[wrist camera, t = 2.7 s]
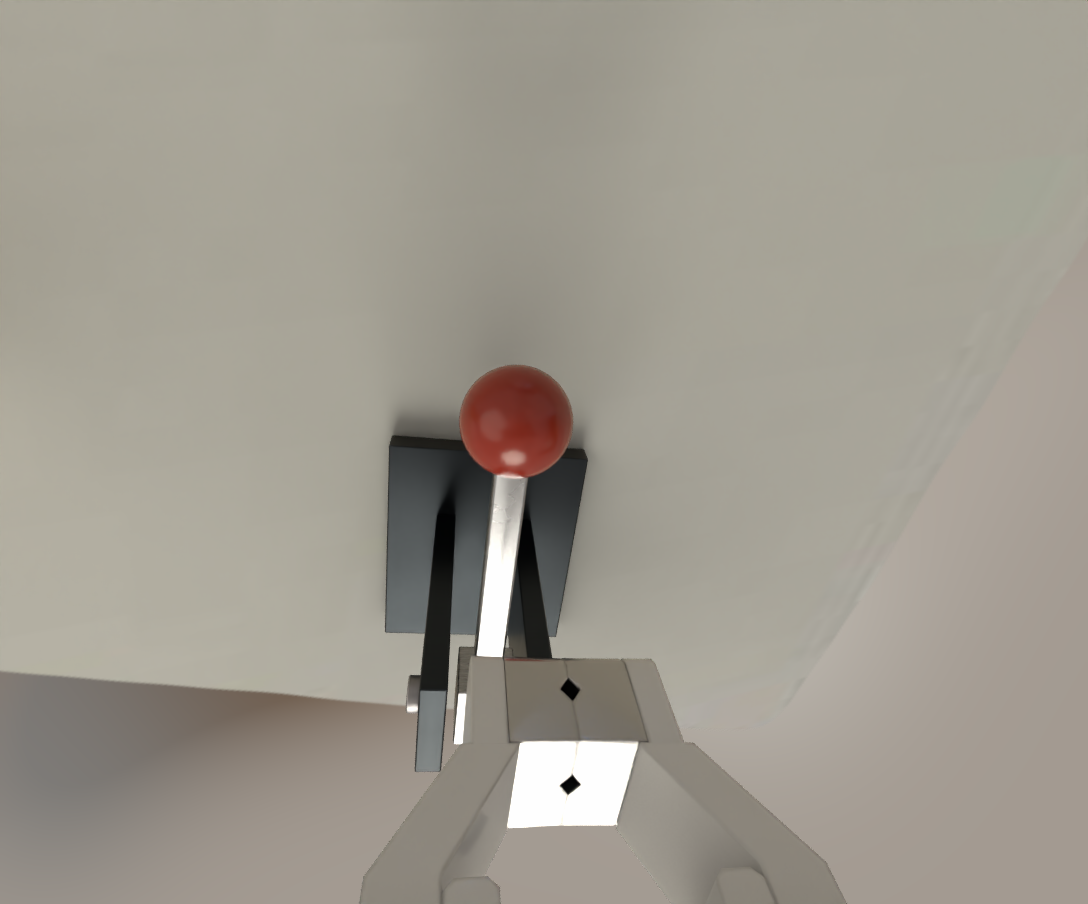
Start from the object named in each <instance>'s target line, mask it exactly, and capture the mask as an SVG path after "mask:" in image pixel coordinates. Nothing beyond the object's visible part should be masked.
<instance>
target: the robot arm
mask: <svg viewBox="0 0 1088 904" xmlns="http://www.w3.org/2000/svg"><path fill="white" fill-rule="evenodd" d="M555 825H608V826H610V825H611V826H612V825H614V826H615V825H616V826H617V827H616V829H617V831H618V832H619V833H620V835H621V836H622V837H623V839H624V840H625V842H626V843H627V844H628V845H629V847H630V848H631V850H632V851H633V852H634V854H635V855H636V857H637V858H638V859H639V860H640V862H641V863H642V865H643V866H644V867H645V869H646V870H647V872H648V873H649V874H650V876H651V877H652V878H653V879H654V881H655V882H656V884H657V885H658V887H659V888H660V889H661V890H662V892H663V893H664V895H665V896H666V897H667V899H668V900H669V902H670V903H671V904H847V903H846V901H845V899H844V897H843V895H842V893H841V891H840V889H839V887H838V885H837V883H836V881H835V879H834V877H833V875H832V873H831V871H830V869H829V867H828V865H827V863H826V861H824V860H823V859H822V858H821V857H820V856H819V855H818V854H817V853H815V852H814V851H813V850H812V849H811V848H810V847H809V846H808V845H807V844H806V843H804V842H803V841H802V840H801V839H800V838H799V837H798V836H797V835H795V834H794V833H793V832H792V831H791V830H790V829H789V828H788V827H787V826H786V825H784V824H783V823H782V822H781V821H780V820H779V819H778V818H777V817H775V816H774V815H773V814H772V813H771V812H770V811H769V810H768V809H766V808H765V807H764V806H763V805H762V804H761V803H760V802H759V801H758V800H757V799H755V798H754V797H753V796H752V795H751V794H750V793H749V792H748V791H747V790H745V789H744V788H743V787H742V786H741V785H740V784H739V783H738V782H737V781H735V780H734V779H733V778H732V777H731V776H730V775H729V774H728V773H727V772H725V771H724V770H723V769H722V768H721V767H720V766H719V765H718V764H716V763H715V762H714V761H713V760H712V759H711V758H710V757H709V756H708V755H707V754H705V753H704V752H703V751H702V750H701V749H700V748H699V747H698V746H696V745H695V744H694V743H687V742H684V740H683V738H682V735H681V732H680V730H679V727H678V724H677V721H676V719H675V716H674V713H673V711H672V708H671V705H670V702H669V700H668V697H667V694H666V691H665V689H664V686H663V683H662V681H661V678H660V675H659V672H658V670H657V667H656V664H655V663H654V662H653V661H652V660H651V659H621V660H620V659H586V658H562V659H557V658H534V657H510V656H503V658H502V657H493V656H473V655H471V658H470V663H469V673H468V683H467V692H466V702H465V714H464V728H463V743H461V744H460V745H459V747H458V748H457V750H456V751H455V752H454V754H453V755H452V756H451V758H450V759H449V761H448V762H447V763H446V765H445V766H444V767H443V769H442V770H441V771H440V773H439V774H438V776H437V777H436V778H435V780H434V781H433V783H432V784H431V785H430V786H429V788H428V789H427V791H426V792H425V793H424V795H423V796H422V797H421V799H420V800H419V802H418V803H417V804H416V806H415V807H414V809H413V810H412V811H411V813H410V814H409V815H408V817H407V818H406V819H405V821H404V822H403V823H402V825H401V826H400V828H399V829H398V830H397V832H396V833H395V835H394V836H393V837H392V839H391V840H390V841H389V843H388V844H387V845H386V847H385V848H384V850H383V851H382V853H381V854H380V855H379V856H378V858H377V859H376V860H375V862H374V863H373V865H372V866H371V867H370V869H369V870H368V871H367V873H366V874H365V876H364V877H363V882H362V889H361V896H360V902H359V904H501V903H500V887H499V886H498V885H497V884H496V883H495V882H493V881H492V880H491V879H490V878H489V877H488V876H485V874H486V872H487V870H488V868H489V866H490V864H491V862H492V860H493V858H494V856H495V854H496V852H497V850H498V848H499V846H500V844H501V842H502V840H503V838H504V836H505V834H506V832H507V828H518V827H537V826H555Z"/></svg>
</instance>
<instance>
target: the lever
mask: <svg viewBox="0 0 1088 904" xmlns="http://www.w3.org/2000/svg"><path fill="white" fill-rule="evenodd" d="M459 427H460V434H461V438H462V441H463V443H464V445H465V447H466V450H467V451H468V453H469V454H470V456H471V457H472V458H473V459H474V461H475V462H477V463H478V464H479V465H480V466H481V467H482V468H484V469H485V470H487V471H489V472H490V473H492V483H491V493H490V502H489V512H488V521H487V531H486V540H485V550H484V559H483V569H482V578H481V587H480V597H479V606H478V616H477V625H476V635H475V644H474V647H459V654H458V665H457V676H456V687H455V701H454V731H453V732H454V733H453V743H454V744H461V743H463V728H464V714H465V702H466V692H467V683H468V673H469V663H470V658H471V655H473V656H493V657H502V658H503V656H510V657H513V648H505V645H506V638H507V631H508V623H509V616H510V608H511V601H512V593H513V586H514V579H515V571H516V564H517V556H518V549H519V541H520V534H521V527H522V519H523V512H524V504H525V497H526V489H527V482H528V477H532V476H535V475H538V474H540V473H542V472H544V471H546V470H547V469H549V468H550V467H551V466H553V465H554V464H555V463H556V462H557V461H558V460H559V459H560V458H561V456H562V455H563V454H564V452H565V450H566V448H567V446H568V444H569V442H570V439H571V435H572V430H573V414H572V409H571V405H570V402H569V399H568V397H567V395H566V393H565V392H564V390H563V389H562V387H561V386H560V385H559V384H558V383H557V382H556V381H555V380H554V379H553V378H552V377H551V376H549V375H548V374H546V373H545V372H543V371H541V370H539V369H537V368H534V367H530V366H525V365H507V366H503V367H499V368H496V369H493V370H491V371H489V372H487V373H486V374H484V375H483V376H481V377H480V378H479V379H478V380H477V381H476V382H475V383H474V384H473V385H472V386H471V388H470V389H469V391H468V392H467V394H466V396H465V398H464V400H463V402H462V406H461V410H460V416H459Z"/></svg>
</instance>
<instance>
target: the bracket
mask: <svg viewBox="0 0 1088 904" xmlns="http://www.w3.org/2000/svg"><path fill="white" fill-rule="evenodd" d="M587 462H588V459H587V456H586V454H585V451H584V450H582V449H568V448H566V450H565V452H564V454H563V455H562V456H561V458H560V459H559V460H558V461H557V462H556V463H555V464H554V465H553V466H551V467H550V468H549V469H547V470H546V471H544V472H542V473H540V474H538V475H535V476H532V477H528V482H527V489H526V497H525V504H524V512H523V519H522V527H521V534H520V541H519V549H518V556H517V564H516V571H515V579H514V586H513V593H512V601H511V608H510V616H509V623H508V631H507V636H508V639H509V648H513V657H534V658H552V653H551V647H550V640H549V637H556V634H557V628H558V622H559V617H560V611H561V606H562V600H563V595H564V589H565V584H566V578H567V573H568V567H569V562H570V556H571V550H572V545H573V539H574V534H575V528H576V523H577V517H578V512H579V506H580V501H581V495H582V489H583V484H584V478H585V473H586V467H587ZM491 483H492V473H490V472H489V471H487V470H485V469H484V468H482V467H481V466H480V465H479V464H478V463H477V462H475V461H474V459H473V458H472V457H471V456H470V454H469V453H468V451H467V450H466V447H465V445H464V443H463V441H458V440H444V439H430V438H416V437H402V436H392V438H391V441H390V445H389V477H388V523H387V569H386V614H385V632H389V633H425V637H424V647H423V657H422V667H421V675H410V676H409V679H408V688H407V700H406V713H418V722H417V723H418V724H417V739H416V758H415V772H440V771H441V763H442V751H443V740H444V727H445V716H446V704H447V692H448V672H449V651H450V634H468V635H476V625H477V616H478V606H479V597H480V587H481V578H482V569H483V559H484V550H485V540H486V531H487V521H488V512H489V502H490V493H491Z"/></svg>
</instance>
